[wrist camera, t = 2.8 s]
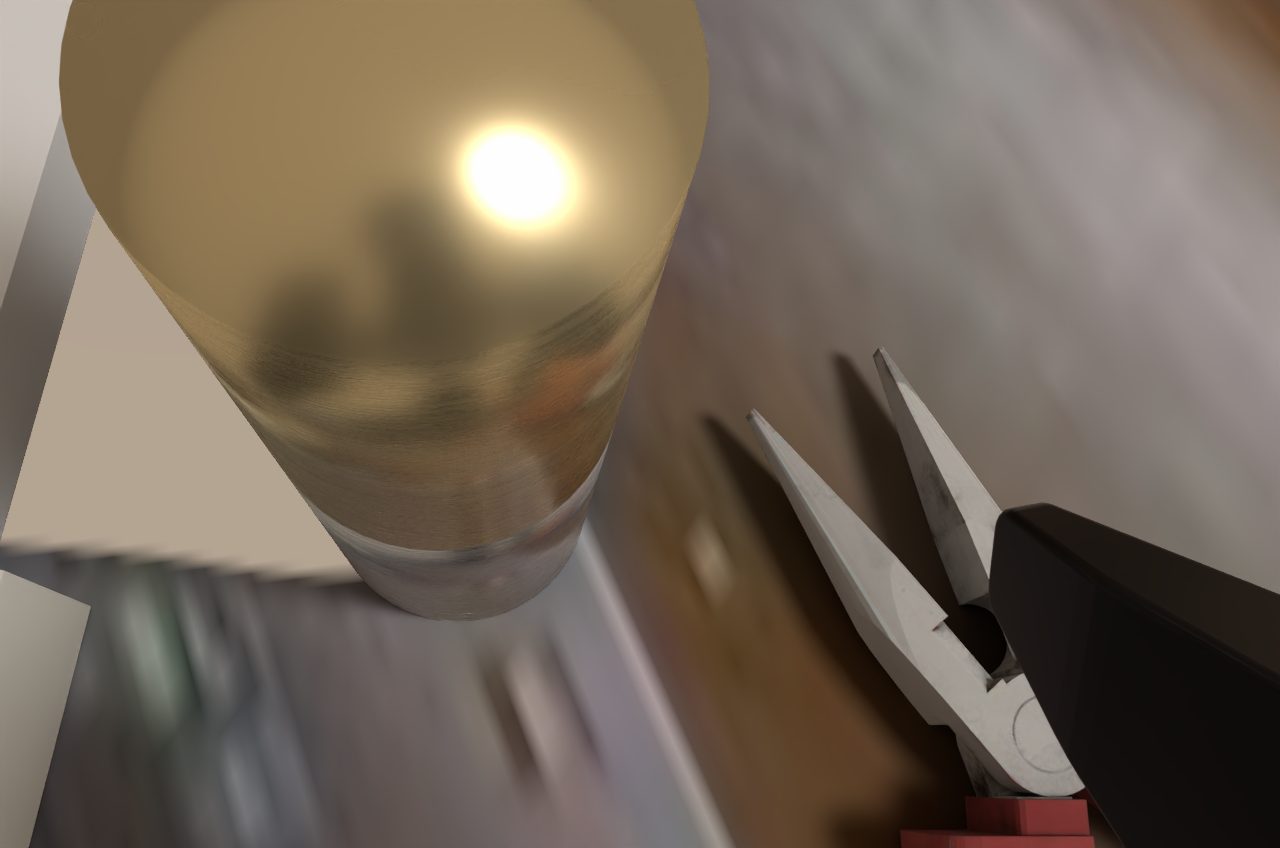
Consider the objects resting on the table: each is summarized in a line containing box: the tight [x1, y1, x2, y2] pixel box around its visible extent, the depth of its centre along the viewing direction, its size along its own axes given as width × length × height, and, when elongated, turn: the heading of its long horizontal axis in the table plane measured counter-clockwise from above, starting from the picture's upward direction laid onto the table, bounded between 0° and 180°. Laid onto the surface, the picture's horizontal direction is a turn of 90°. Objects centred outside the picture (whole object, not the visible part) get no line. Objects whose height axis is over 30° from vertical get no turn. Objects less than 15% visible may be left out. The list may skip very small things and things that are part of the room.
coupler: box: [59, 0, 710, 622], centre depth 14 cm, size 4×4×13 cm
